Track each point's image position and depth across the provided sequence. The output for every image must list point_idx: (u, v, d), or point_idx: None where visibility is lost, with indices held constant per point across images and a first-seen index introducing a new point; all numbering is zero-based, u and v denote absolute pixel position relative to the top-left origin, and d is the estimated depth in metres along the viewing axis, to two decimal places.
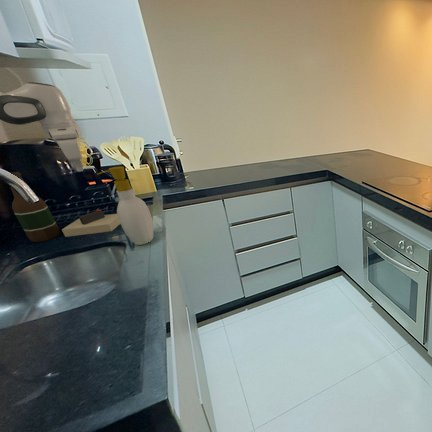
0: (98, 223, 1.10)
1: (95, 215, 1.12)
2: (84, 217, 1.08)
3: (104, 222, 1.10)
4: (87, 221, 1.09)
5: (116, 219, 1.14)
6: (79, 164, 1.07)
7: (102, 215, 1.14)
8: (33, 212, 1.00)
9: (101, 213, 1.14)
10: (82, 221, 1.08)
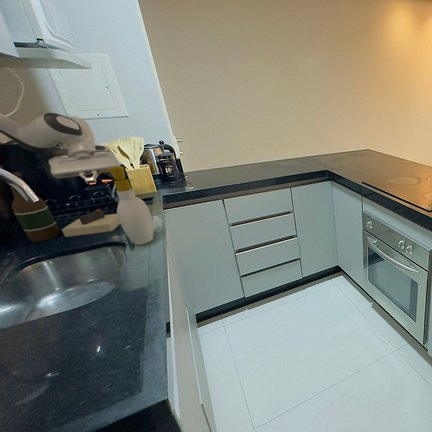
0: (98, 223, 1.10)
1: (95, 215, 1.12)
2: (84, 217, 1.08)
3: (104, 222, 1.10)
4: (87, 221, 1.09)
5: (116, 219, 1.14)
6: (96, 176, 1.19)
7: (102, 215, 1.14)
8: (33, 212, 1.00)
9: (101, 213, 1.14)
10: (82, 221, 1.08)
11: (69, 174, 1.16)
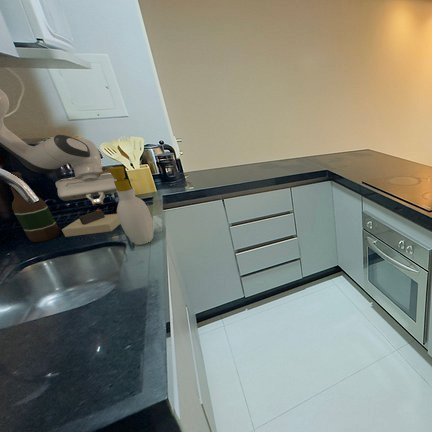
0: (98, 223, 1.10)
1: (95, 215, 1.12)
2: (84, 217, 1.08)
3: (104, 222, 1.10)
4: (87, 221, 1.09)
5: (116, 219, 1.14)
6: (103, 198, 1.19)
7: (102, 215, 1.14)
8: (33, 212, 1.00)
9: (101, 213, 1.14)
10: (82, 221, 1.08)
11: (76, 196, 1.15)
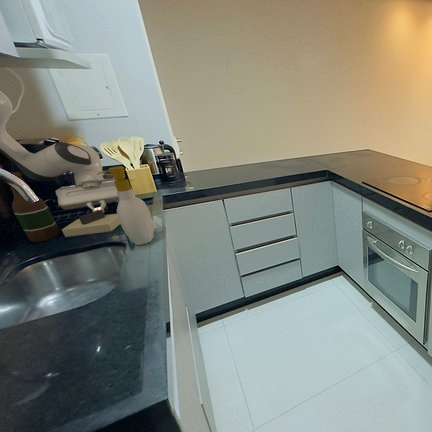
0: (98, 223, 1.10)
1: (95, 215, 1.12)
2: (84, 217, 1.08)
3: (104, 222, 1.10)
4: (87, 221, 1.09)
5: (116, 219, 1.14)
6: (104, 206, 1.17)
7: (102, 215, 1.14)
8: (33, 212, 1.00)
9: (101, 213, 1.14)
10: (82, 221, 1.08)
11: (76, 205, 1.13)
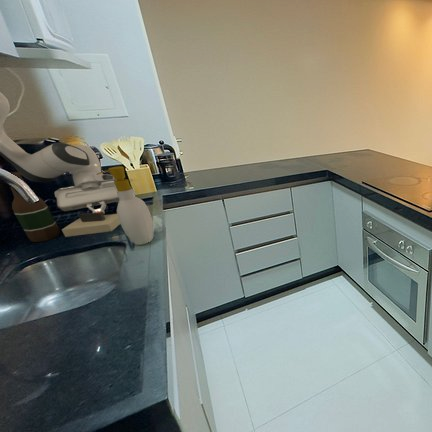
0: (98, 223, 1.10)
1: (92, 216, 1.11)
2: (81, 215, 1.10)
3: (104, 222, 1.10)
4: (84, 220, 1.11)
5: (116, 219, 1.14)
6: (104, 207, 1.15)
7: (100, 218, 1.11)
8: (33, 212, 1.00)
9: (99, 216, 1.11)
10: None
11: (76, 206, 1.11)
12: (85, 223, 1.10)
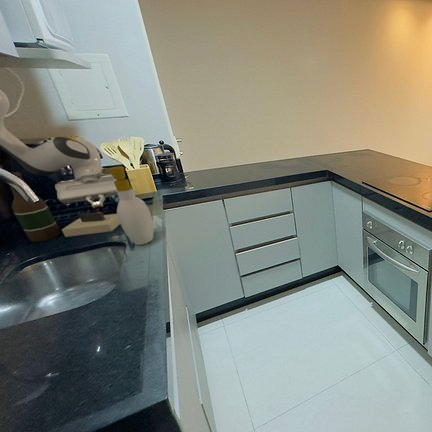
0: (98, 223, 1.10)
1: (92, 216, 1.11)
2: (81, 215, 1.10)
3: (104, 222, 1.10)
4: (84, 220, 1.11)
5: (116, 219, 1.14)
6: (103, 200, 1.18)
7: (100, 218, 1.11)
8: (33, 212, 1.00)
9: (99, 216, 1.11)
10: None
11: (76, 199, 1.14)
12: (85, 223, 1.10)
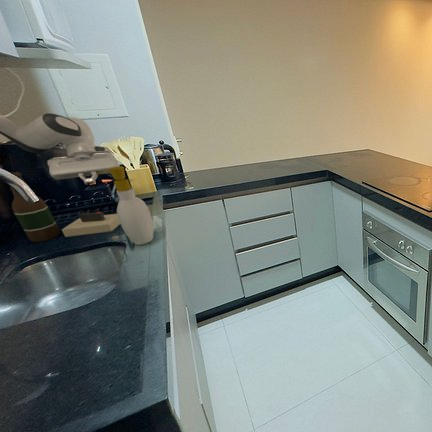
0: (98, 223, 1.10)
1: (92, 216, 1.11)
2: (81, 215, 1.10)
3: (104, 222, 1.10)
4: (84, 220, 1.11)
5: (116, 219, 1.14)
6: (96, 177, 1.18)
7: (100, 218, 1.11)
8: (33, 212, 1.00)
9: (99, 216, 1.11)
10: None
11: (68, 175, 1.15)
12: (85, 223, 1.10)
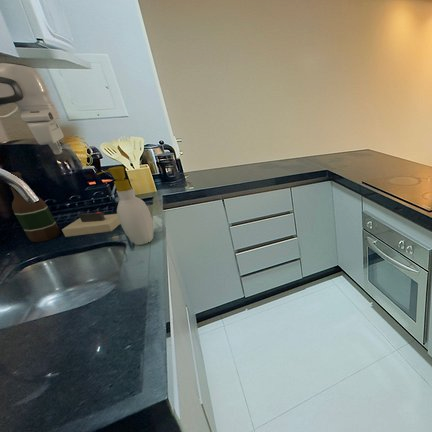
0: (98, 223, 1.10)
1: (92, 216, 1.11)
2: (81, 215, 1.10)
3: (104, 222, 1.10)
4: (84, 220, 1.11)
5: (116, 219, 1.14)
6: (56, 147, 1.07)
7: (100, 218, 1.11)
8: (33, 212, 1.00)
9: (99, 216, 1.11)
10: None
11: None
12: (85, 223, 1.10)
